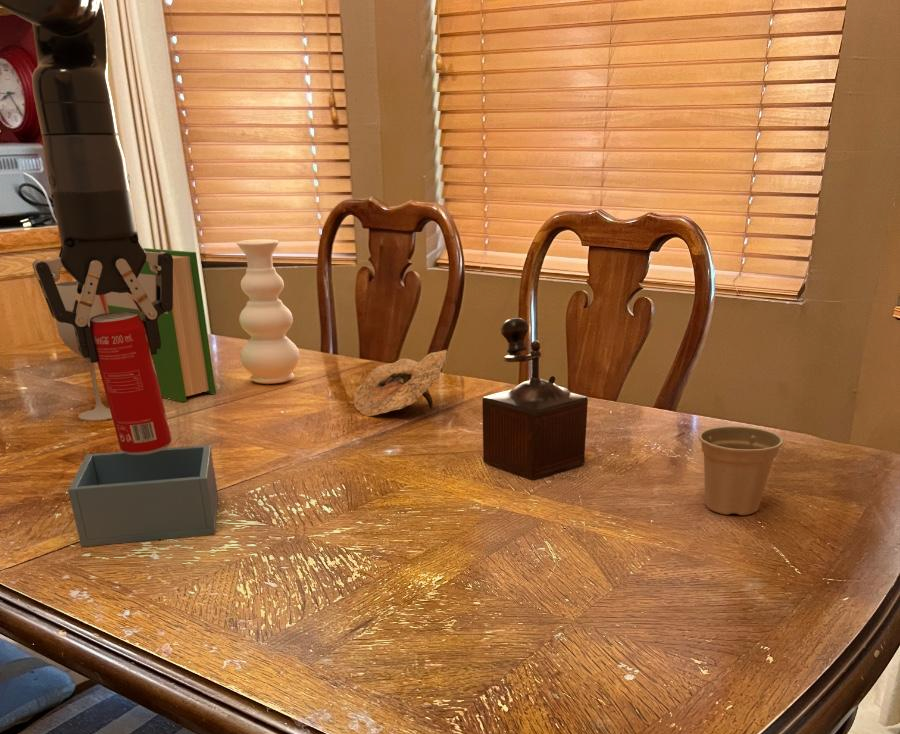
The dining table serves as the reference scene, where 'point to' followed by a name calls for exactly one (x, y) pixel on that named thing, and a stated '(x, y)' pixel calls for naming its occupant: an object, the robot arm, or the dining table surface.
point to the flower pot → (737, 467)
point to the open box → (145, 496)
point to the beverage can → (130, 382)
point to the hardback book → (177, 329)
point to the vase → (265, 317)
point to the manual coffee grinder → (533, 418)
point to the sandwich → (398, 384)
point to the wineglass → (70, 341)
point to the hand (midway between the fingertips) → (122, 357)
